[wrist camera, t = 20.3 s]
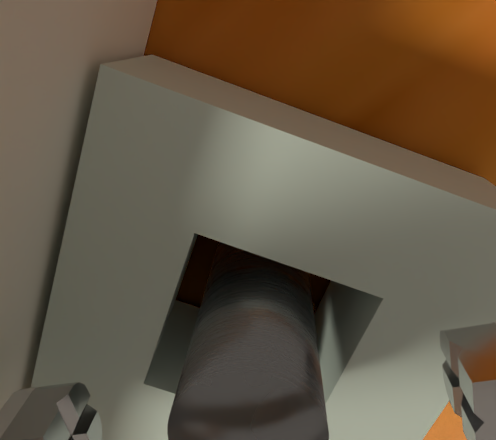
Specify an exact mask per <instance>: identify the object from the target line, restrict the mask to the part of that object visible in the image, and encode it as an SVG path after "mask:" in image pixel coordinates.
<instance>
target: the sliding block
mask: <svg viewBox="0 0 496 440" xmlns="http://www.w3.org/2000/svg"><path fill="white" fill-rule="evenodd" d="M198 234H199V235H201V236H204V237H207V238H210V239H213V240H216V241H219V242H222V243H225V244H227V245H230V246H233V247H236V248H239V249H242V250H245V251H248V252H251V253H253V254H256V255H259V256H262V257H265V258H268V259H271V260H274V261H277V262H279V263H282V264H285V265H288V266H291V267H294V268H297V269H300V270H303V271H305V272H308V273H311V274H314V275H317V276H320V277H323V278H326V279H329V280H331V281H330V283H329V285H328V287H327V290H326V292H325V294H324V296H323V298H322V300H321V302H320V304H319V306H318V308H317V310H316V312H315V314H314V319H315V327H316V335H317V343H318V351H319V359H320V367H321V375H322V383H323V391H324V399H325V407H326V415H327V423H328V430H329V440H423V438H424V437H425V435H426V434H427V432H428V431H429V429H430V428H431V426H432V425H433V424H434V422H435V421H436V419H437V418H438V416H439V415H440V413H441V412H442V410H443V409H444V408H445V406H446V405H447V403H448V402H449V398H448V395H447V392H446V387H445V383H444V378H443V370H442V364H443V363H444V362H445V360H446V358H445V356H444V354H443V352H442V350H441V348H440V331H442V330H448V329H455V328H462V327H469V326H475V325H482V324H489V323H492V322H496V186H495V185H493V184H492V183H491V182H489V181H488V180H486V179H485V178H483V177H480V176H477V175H474V174H472V173H469V172H466V171H464V170H461V169H458V168H456V167H453V166H450V165H448V164H445V163H442V162H440V161H437V160H434V159H432V158H429V157H426V156H424V155H421V154H418V153H415V152H413V151H410V150H407V149H405V148H402V147H399V146H397V145H394V144H391V143H389V142H386V141H383V140H381V139H378V138H375V137H373V136H370V135H367V134H365V133H362V132H359V131H356V130H354V129H351V128H348V127H346V126H343V125H340V124H338V123H335V122H332V121H330V120H327V119H324V118H322V117H319V116H316V115H314V114H311V113H308V112H306V111H303V110H300V109H297V108H295V107H292V106H289V105H287V104H284V103H281V102H279V101H276V100H273V99H271V98H268V97H265V96H263V95H260V94H257V93H255V92H252V91H249V90H247V89H244V88H241V87H239V86H236V85H233V84H230V83H228V82H225V81H222V80H220V79H217V78H214V77H212V76H209V75H206V74H204V73H201V72H198V71H196V70H193V69H190V68H188V67H185V66H182V65H180V64H177V63H174V62H171V61H169V60H166V59H163V58H161V57H158V56H155V55H153V54H152V55H147V56H142V57H136V58H131V59H125V60H120V61H114V62H109V63H103V64H100V68H99V73H98V77H97V82H96V87H95V91H94V96H93V101H92V105H91V110H90V114H89V119H88V124H87V128H86V133H85V138H84V142H83V147H82V152H81V156H80V161H79V165H78V170H77V175H76V179H75V184H74V189H73V193H72V198H71V203H70V207H69V212H68V216H67V221H66V226H65V230H64V235H63V240H62V244H61V249H60V254H59V258H58V263H57V267H56V272H55V277H54V281H53V286H52V291H51V295H50V300H49V305H48V309H47V314H46V318H45V323H44V328H43V332H42V337H41V342H40V346H39V351H38V356H37V360H36V365H35V369H34V374H33V379H32V383H31V388H34V387H41V386H49V385H58V384H66V383H75V382H80V383H83V384H85V386H86V388H87V390H88V392H89V394H90V398H89V401H88V405H90V406H91V407H92V408H94V409H95V410H97V412H98V414H99V416H100V419H101V423H102V429H103V431H102V440H168V434H167V424H168V419H169V415H170V411H171V408H172V404H173V401H174V397H175V394H176V390H177V387H178V383H179V380H180V376H181V373H182V369H183V366H184V362H185V359H186V355H187V351H188V348H189V344H190V341H191V337H192V334H193V330H194V327H195V323H196V320H197V316H198V313H199V309H200V308H198V307H195V306H192V305H189V304H186V303H183V302H180V301H177V300H176V297H177V295H178V292H179V289H180V286H181V283H182V280H183V277H184V274H185V271H186V268H187V265H188V262H189V260H190V257H191V254H192V251H193V248H194V245H195V242H196V239H197V236H198Z"/></svg>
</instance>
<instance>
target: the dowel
mask: <svg viewBox="0 0 496 440" xmlns="http://www.w3.org/2000/svg"><path fill="white" fill-rule="evenodd" d="M167 434H168V440H329V430H328V423H327V415H326V407H325V399H324V391H323V383H322V375H321V367H320V359H319V351H318V343H317V335H316V327H315V319H314V311H313V303H312V295H311V288H310V280H309V273H308V272H305V271H303V270H300V269H297V268H294V267H291V266H288V265H285V264H282V263H279V262H277V261H274V260H271V259H268V258H265V257H262V256H259V255H256V254H253V253H251V252H248V251H245V250H242V249H239V248H236V247H233V246H230V245H227V244H225V243H222V242H220V243H219V244H218V247H217V249H216V253H215V256H214V260H213V263H212V267H211V270H210V274H209V277H208V281H207V284H206V288H205V291H204V295H203V299H202V302H201V306H200V309H199V313H198V316H197V320H196V323H195V327H194V330H193V334H192V337H191V341H190V344H189V348H188V351H187V355H186V359H185V362H184V366H183V369H182V373H181V376H180V380H179V383H178V387H177V390H176V394H175V397H174V401H173V404H172V408H171V411H170V415H169V419H168V424H167Z"/></svg>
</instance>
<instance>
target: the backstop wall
mask: <svg viewBox="0 0 496 440" xmlns="http://www.w3.org/2000/svg"><path fill="white" fill-rule="evenodd" d="M156 4H157V0H0V410H1V408H2V407H3V406H4V404H5V403H6V402H7V400H8V399H9V398H10V396H11V395H12V394H13V393H14V392H16V391H18V390H20V389H27V388H31V383H32V379H33V374H34V369H35V365H36V360H37V356H38V351H39V346H40V342H41V337H42V332H43V328H44V323H45V318H46V314H47V309H48V305H49V300H50V295H51V291H52V286H53V281H54V277H55V272H56V267H57V263H58V258H59V254H60V249H61V244H62V240H63V235H64V230H65V226H66V221H67V216H68V212H69V207H70V203H71V198H72V193H73V189H74V184H75V179H76V175H77V170H78V165H79V161H80V156H81V152H82V147H83V142H84V138H85V133H86V128H87V124H88V119H89V114H90V110H91V105H92V101H93V96H94V91H95V87H96V82H97V77H98V73H99V68H100V64H103V63H109V62H114V61H120V60H125V59H131V58H136V57H142V56H144V52H145V48H146V44H147V40H148V36H149V32H150V28H151V24H152V20H153V16H154V12H155V8H156Z"/></svg>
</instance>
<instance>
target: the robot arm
mask: <svg viewBox="0 0 496 440" xmlns="http://www.w3.org/2000/svg"><path fill="white" fill-rule="evenodd" d="M440 348H441V350H442V352H443V354H444V356H445V358H446V360H445V362H444V363H443V364H442V370H443V378H444V383H445V387H446V392H447V395H448V398H449V400H450V403H451V405H452V408H453V410H454V412H455V413H456V414H457V415H459V416H460V417H462V422H463V432H464V434H465V436H466V438H467V440H496V322H492V323H489V324H482V325H475V326H469V327H462V328H455V329H448V330H442V331H440ZM89 398H90V394H89V392H88V390H87V388H86V386H85V384H83V383H80V382H75V383H66V384H58V385H49V386H41V387H34V388H27V389H20V390H18V391H16V392H14V393H13V394H12V395H11V396H10V398H9V399H8V400H7V402H6V403H5V404H4V406H3V407H2V408H1V410H0V440H102V431H103V429H102V423H101V419H100V416H99V414H98V412H97V410H95V409H94V408H92V407H91V406H90V405H88V401H89Z"/></svg>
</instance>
